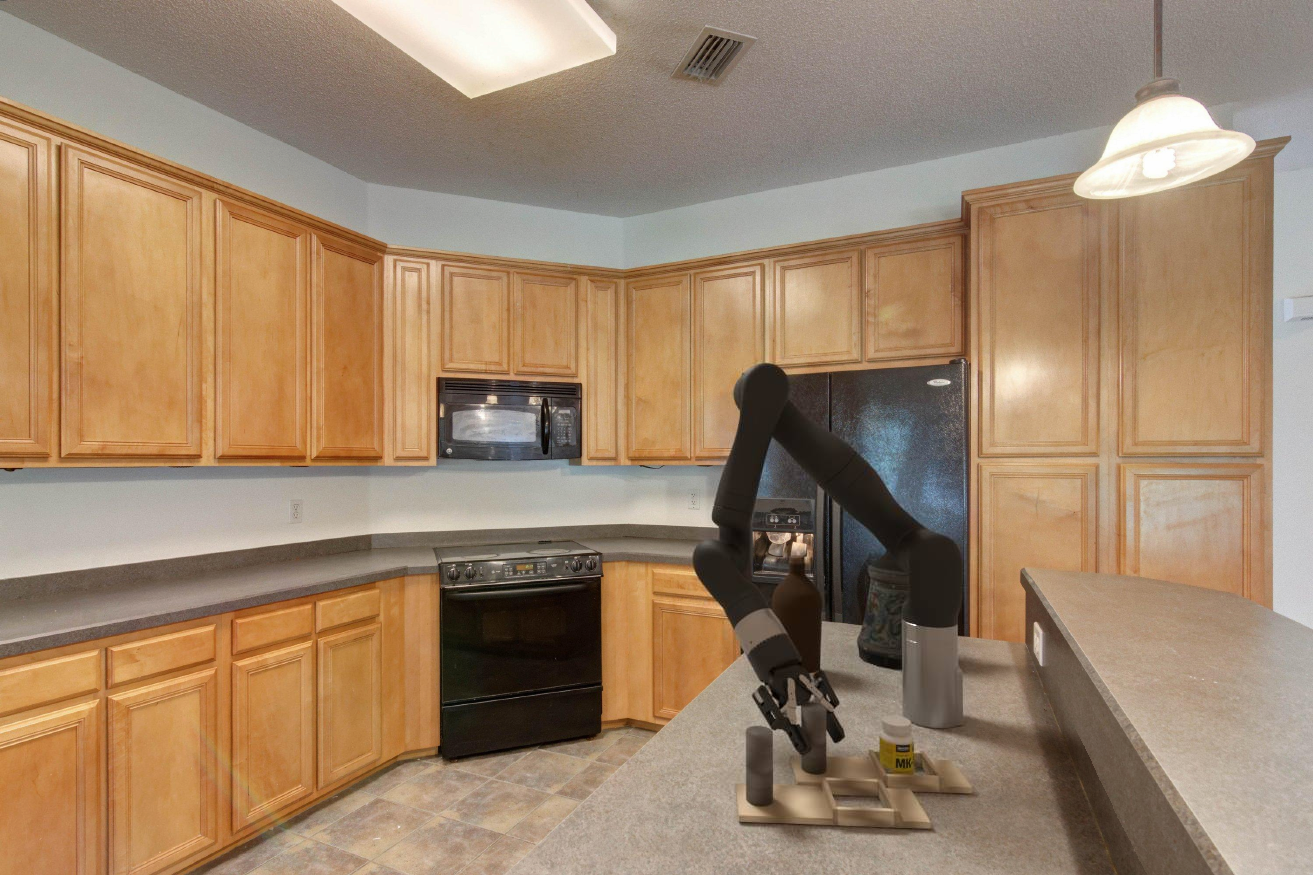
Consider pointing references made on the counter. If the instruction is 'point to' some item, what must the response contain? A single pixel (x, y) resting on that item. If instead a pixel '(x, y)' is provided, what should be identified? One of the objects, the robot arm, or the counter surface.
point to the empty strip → (817, 795)
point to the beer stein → (884, 614)
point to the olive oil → (800, 613)
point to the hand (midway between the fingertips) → (824, 746)
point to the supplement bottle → (896, 745)
